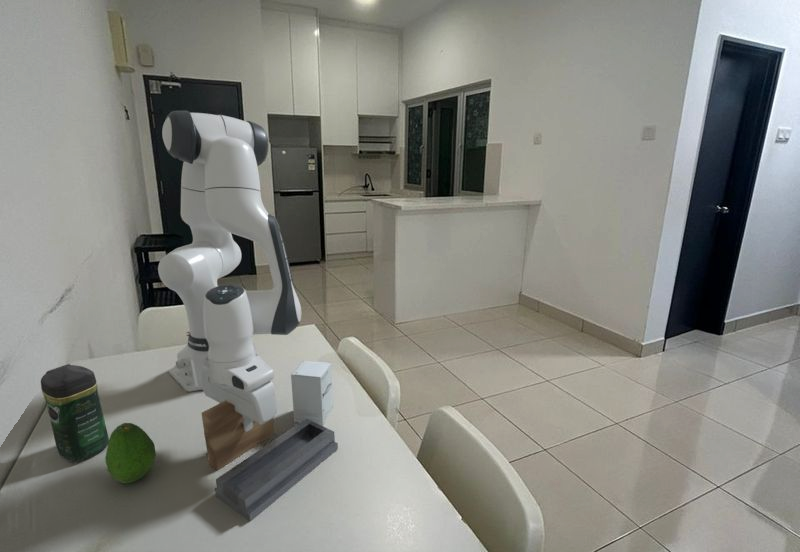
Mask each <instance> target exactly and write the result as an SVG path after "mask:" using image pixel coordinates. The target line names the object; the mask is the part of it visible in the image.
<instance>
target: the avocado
mask: <svg viewBox="0 0 800 552" xmlns="http://www.w3.org/2000/svg"><path fill="white" fill-rule="evenodd" d="M156 454H157V451H156V445H155V443H154V441H153V440H152V438H151V437H150V436H149V435H148V433H147V432H146V431H144V429H142V427H140V426H138V425H137V424H134V423H131V422H124V423H121V424H120V425H118V426H117V427H115V429H114V430H112V432H111V433H110V436H109V443H108V446H107V447H106V453H105V458H104V460H105V465H106V469H107V471H108V473H109V474H110V477H112V479H114V480H115V481H117V482H118V483H123V484H130V483H135V482H136V481H138V480H140V479H142V478H143V477H145V475H146V474H147V473H148V472H150V470H151V468H152V466H154V463H155V459H156Z"/></svg>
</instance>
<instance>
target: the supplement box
mask: <svg viewBox="0 0 800 552" xmlns="http://www.w3.org/2000/svg"><path fill="white" fill-rule="evenodd" d="M332 376H333V375H332V363H331V362H324V361H323V362H322V361H311V360H303V361H302V362H301V363H300V364H299V365H298V367H297V368H296V369H295V370H294V371H293V372H292V373H291V375H290V380H291V392H292V407H293V408H292V409H293V420H294V421H293V422H294V423H297V424H299V423H300V422H302V421H303V420H305V419H308V420H311V421H313V422H315V423H317V424H319V425H321V426H323V425H324V424H325V421H326V420H327V418H328V417H329V415H330V414H331V413H332V410H333V409H334V398H333V397H334V396H333V377H332Z"/></svg>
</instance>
